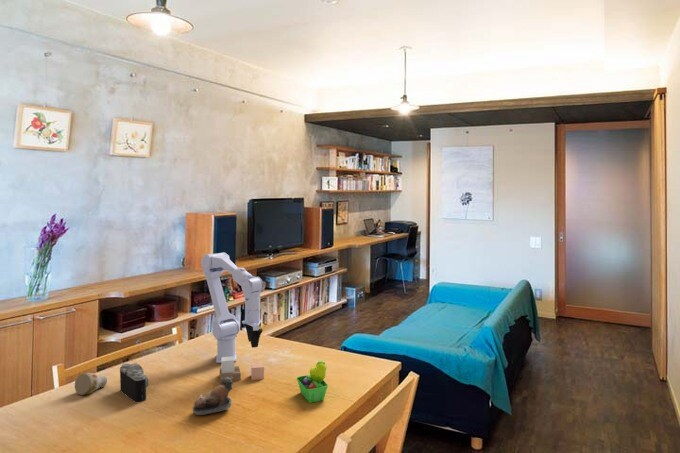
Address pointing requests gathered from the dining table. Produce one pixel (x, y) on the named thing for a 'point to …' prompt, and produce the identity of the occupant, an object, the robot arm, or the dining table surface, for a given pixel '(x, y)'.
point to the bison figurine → (214, 399)
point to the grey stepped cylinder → (89, 383)
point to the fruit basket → (314, 383)
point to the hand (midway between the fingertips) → (253, 344)
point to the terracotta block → (257, 371)
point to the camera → (133, 382)
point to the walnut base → (231, 374)
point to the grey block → (227, 364)
